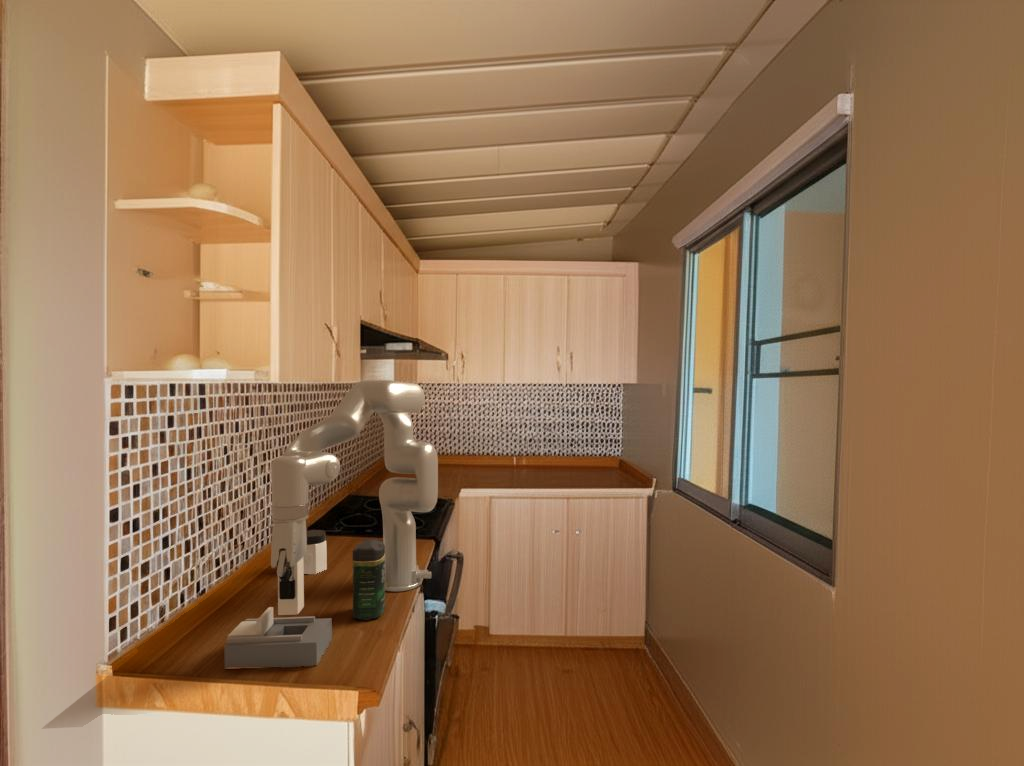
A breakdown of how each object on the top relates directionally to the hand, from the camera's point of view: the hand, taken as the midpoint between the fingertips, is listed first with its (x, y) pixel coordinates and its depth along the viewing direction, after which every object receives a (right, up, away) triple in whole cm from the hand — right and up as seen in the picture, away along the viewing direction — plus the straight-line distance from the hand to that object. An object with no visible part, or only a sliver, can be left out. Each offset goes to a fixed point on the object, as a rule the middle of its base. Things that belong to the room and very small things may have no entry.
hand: (291, 593), depth 122 cm
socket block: (-2, -13, 0) cm, 14 cm away
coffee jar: (+12, -13, +21) cm, 28 cm away
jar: (-15, -14, +54) cm, 58 cm away
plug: (0, -4, 0) cm, 4 cm away
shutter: (-9, -8, 0) cm, 12 cm away
